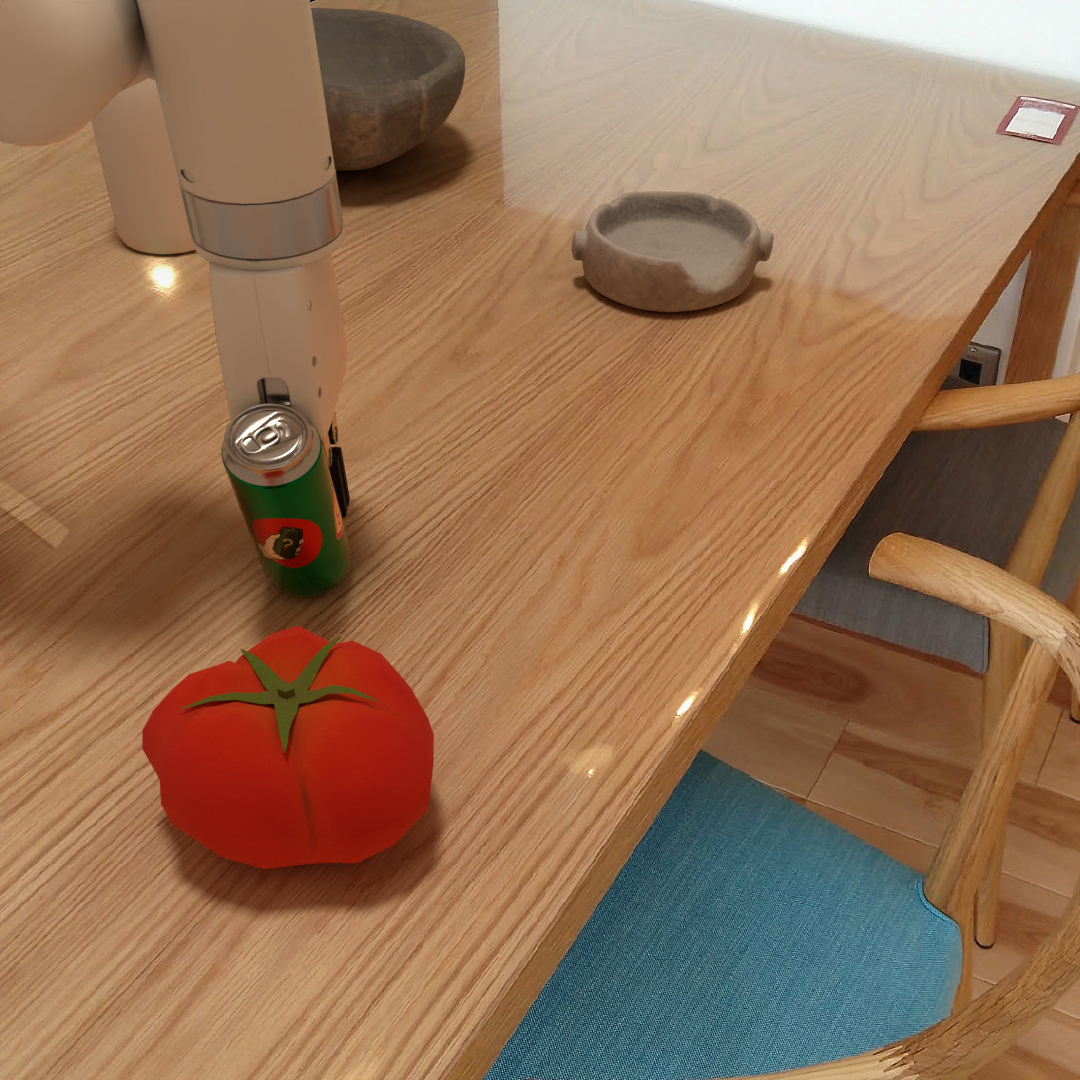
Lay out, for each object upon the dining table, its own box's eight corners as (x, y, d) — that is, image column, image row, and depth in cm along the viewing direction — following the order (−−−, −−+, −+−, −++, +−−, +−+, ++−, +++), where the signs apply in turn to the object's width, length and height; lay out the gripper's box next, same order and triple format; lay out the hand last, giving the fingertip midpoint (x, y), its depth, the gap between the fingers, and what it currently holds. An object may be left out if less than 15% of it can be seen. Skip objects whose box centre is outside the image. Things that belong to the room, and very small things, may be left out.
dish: (784, 277, 114) (791, 218, 111) (690, 339, 105) (694, 278, 102) (643, 225, 119) (645, 167, 116) (542, 280, 111) (540, 220, 107)
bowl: (520, 147, 129) (517, 34, 122) (369, 232, 114) (355, 108, 107) (323, 90, 136) (309, -21, 129) (156, 163, 121) (130, 42, 114)
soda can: (370, 572, 81) (338, 443, 70) (295, 617, 79) (251, 491, 69) (321, 515, 83) (282, 381, 72) (247, 558, 81) (196, 426, 70)
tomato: (483, 741, 73) (474, 611, 67) (408, 927, 64) (390, 797, 58) (230, 700, 74) (198, 569, 67) (121, 879, 64) (73, 746, 58)
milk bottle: (167, 266, 107) (106, -13, 94) (98, 237, 110) (28, -39, 96) (241, 233, 112) (193, -37, 99) (173, 206, 115) (117, -60, 101)
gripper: (219, 150, 75) (279, 442, 87) (152, 276, 64) (232, 589, 77) (360, 154, 75) (399, 443, 88) (317, 279, 64) (369, 589, 77)
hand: (321, 510), depth 82 cm, fingers closed
